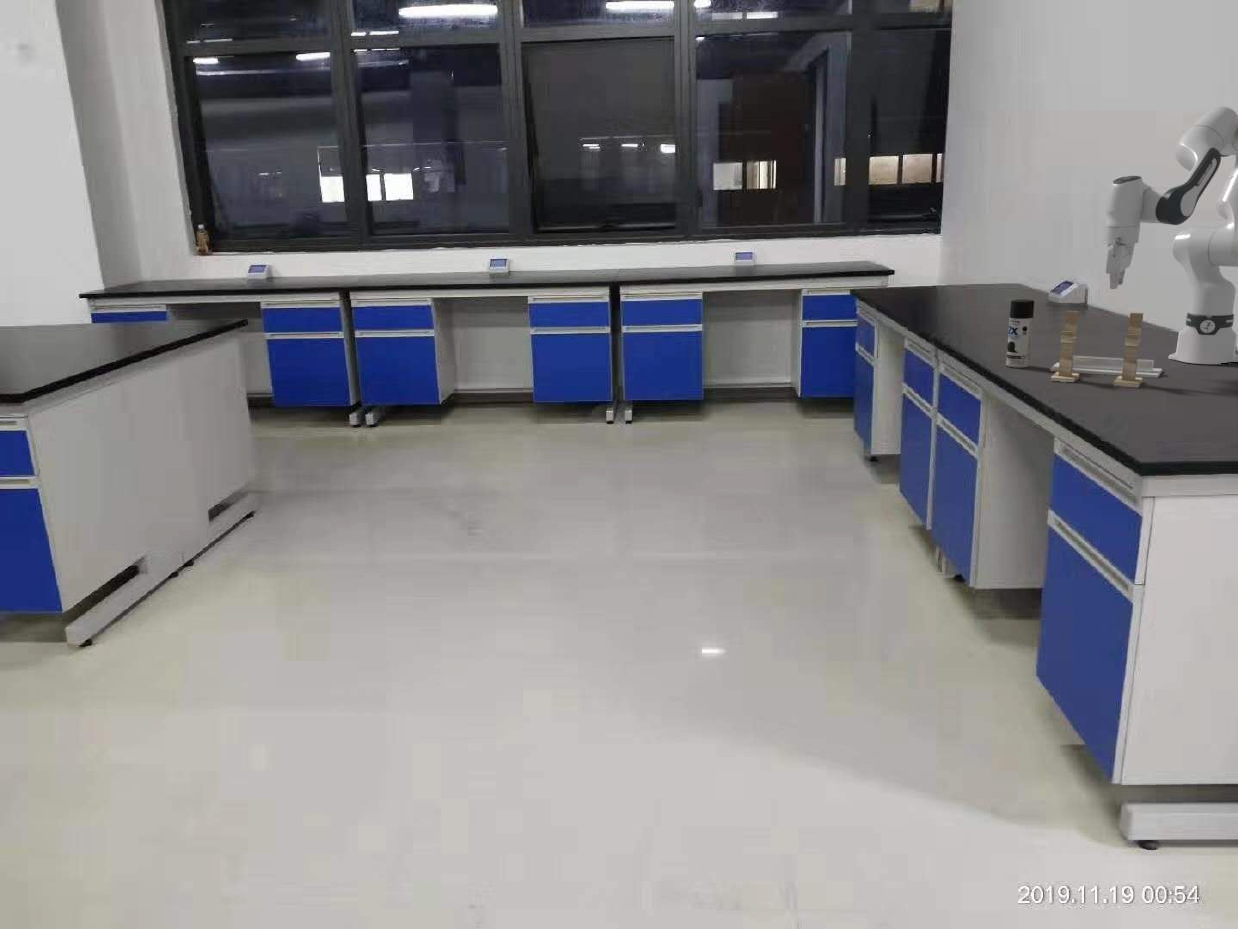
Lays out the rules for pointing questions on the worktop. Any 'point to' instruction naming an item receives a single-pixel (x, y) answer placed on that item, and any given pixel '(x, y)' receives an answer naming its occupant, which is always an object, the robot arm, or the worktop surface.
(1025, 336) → the spray can
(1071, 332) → the hook post
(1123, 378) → the hook post
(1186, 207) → the robot arm
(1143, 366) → the steel bar
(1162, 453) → the worktop surface
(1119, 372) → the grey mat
